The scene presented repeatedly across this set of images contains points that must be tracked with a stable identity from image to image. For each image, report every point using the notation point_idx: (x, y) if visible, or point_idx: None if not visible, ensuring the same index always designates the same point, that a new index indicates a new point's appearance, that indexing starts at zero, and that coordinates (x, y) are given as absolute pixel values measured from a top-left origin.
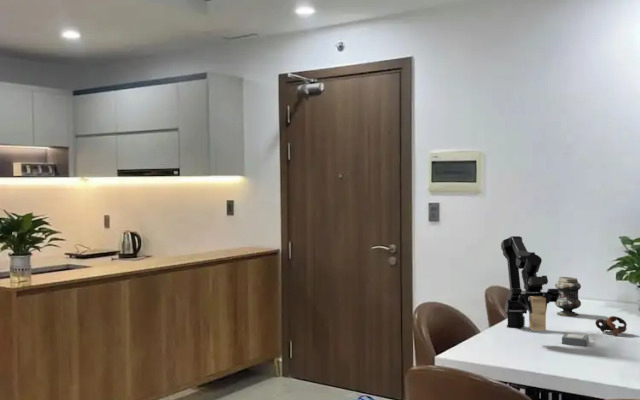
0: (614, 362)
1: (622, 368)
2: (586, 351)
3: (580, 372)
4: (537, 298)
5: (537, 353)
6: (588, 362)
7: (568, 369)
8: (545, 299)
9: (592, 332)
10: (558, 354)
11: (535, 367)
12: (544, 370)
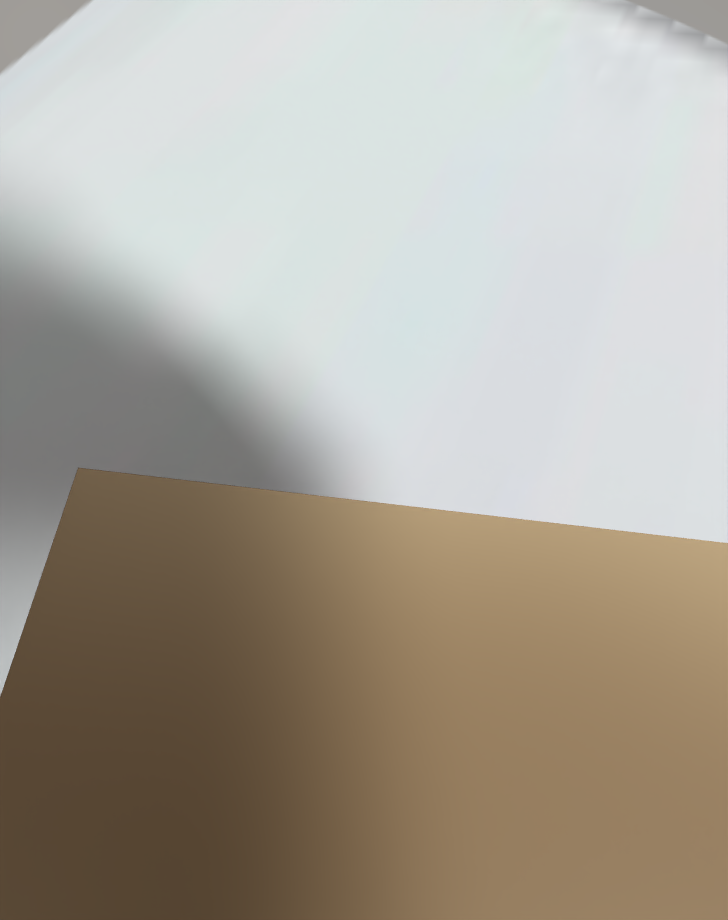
0: (50, 152)
1: (103, 53)
2: (23, 436)
3: (402, 13)
4: (566, 534)
5: (512, 407)
6: (230, 163)
7: (446, 57)
8: (121, 489)
9: None
10: (338, 364)
11: (642, 98)
12: (602, 51)
